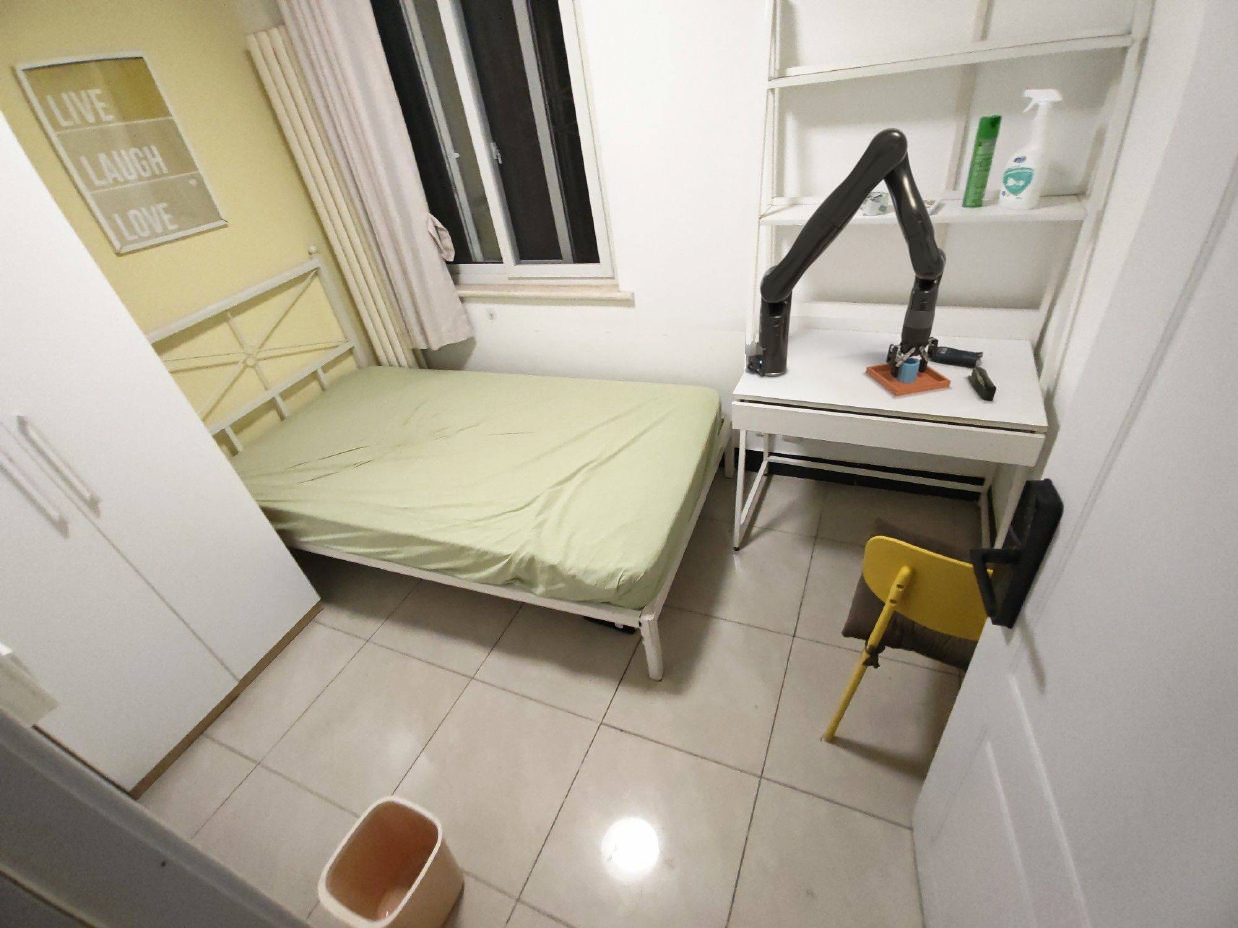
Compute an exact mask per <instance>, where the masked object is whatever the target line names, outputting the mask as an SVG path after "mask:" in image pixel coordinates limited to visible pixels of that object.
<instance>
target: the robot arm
mask: <svg viewBox="0 0 1238 928" xmlns="http://www.w3.org/2000/svg"><path fill="white" fill-rule="evenodd" d="M908 148H909V143H908V138H907V136H906V134H905V133H904V132H903V130H900V128H899V129H898V128H895V127H888V128H884V129H882V130H881V131H879V132H877V133H876V134H875V136H873V138H872V139H871V140H870V141H869V144H868V146H867V147H866V149H865V150H864V152H863V154H861V157H860V158H859V160H858V161H857V163H856V164H855V166H853V168H852V170H851V171H850V173H848V174H847V176H846V177H845V178H844V180H843V181H842V182H841V183H839V184H838V185H837V187H835V188H834V189H833V190H832V191H831V193H830V194H828V195H827V196H826V198H825V199H824V200H823V201H822V202H821V203H820V204H819V206H818V207H817V208H816V209H815V211H814V212H813V213H812V215H811V216H810V217H809V218H808V220H807V221H806V222H805V224H804V225H803V227H802V228H801V230H800V232H799V233H798V235H797V236H796V238H795V240H794V242H793V243H792V245H791V247H790V249H789V250H788V251H787V253H786V254H785V256H784V257H783V258H782V260H781V261H779V263H778V264H775V265H772V266H770V267H769V268H768V269H767V270H765V271H764V273H763V274H762V278H761V281H760V284H759V292H760V307H759V318H758V319H759V321H758V341H757V342H756V343H755V354H753V355H748V361H747V362H748V363H747V365H746V368H747V370H748V371H750V372H754V371H756V372H757V373H758V374H759V375H760V377H779V376H782V375H784V374H786V372H787V367H788V364H787V363H788V351H789V350H788V349H789V339H790V338H789V337H790V324H791V312H792V301H793V290H794V289H795V287H796V286H797V284H798V283H799V282H800V280H801V278H802V277H803V275H805V273H806V272H807V271H808V269H809V268H810V267H811V266H812V265H813V264H814V263H815V262H816V261H817V260H818V258H820V257H821V256H822V255H823V253H824V252H825V251H826V250H827V249H828V248H829V247H830V246H831V245H832V243H834V242H835V240H836V239H837V238H838V237H839V236H840V235H841V234H842V232H843V231H844V229H846V227H847V226H848V225H849V224H850V222H851V221H852V219H853V218H854V217H855V215H856V214H857V213H858V211H859V209H861V207H862V206H863V204H864V202H865V201H866V200H867V198H868V197H869V195H870V194H871V193H872V192H873V191H874V190H875V189H876V187H878V186H879V184H880V183H882V181H883V182H884V184H885V186H886V188H887V191H888V194H889V196H890V199H891V203H892V206H893V211H894V214H895V217H896V220H897V224H898V227H899V230H900V231H901V235H902V237H903V240H904V241H905V244H906V247H907V250H908V255H909V259H910V263H911V267H912V269H913V271H914V280H913V285H912V287H911V289H910V293H909V296H908V297H909V298H908V303H907V307H906V311H905V314H904V318H903V324H902V329H901V332H900V333H901V334H900V337H901V338H900V339H901V340H900V342H899V343H898V344H894V343H890V344H889V346H888V351H887V355H886V358H885V359H886V360H885V364H887V363H888V364H889V365H891V366H892V368H891V375H892V376H893V377H894V378H897V377H898V374H899V368H900V366H899V365H900V364H901V363H902V362H903V361H905V360H906V359H907V358H914V357H920V359H919V360H920V364H919V369H918V371H919V372H921V373H924V372H925V370H926V368H927V365H928V364H929V362H930V361H931V360H930V359H931V358H935V357H936V352H937V347H939V339H938V338H935V337H934V336H931V335H932V330H933V325H934V321H935V317H936V308H937V303H938V298H939V290H940V285H941V282H942V278H943V274H944V271H945V267H946V264H947V255H946V253H945V251H944V250H943V249H942V248H941V247H938V244H937V241H936V238H935V237H936V234H935V233H936V232H935V228H934V225H933V221H932V219H931V216H930V214H929V211H928V208H927V207H926V204H925V201H924V199H923V197H922V195H921V192H920V190H919V188H918V186H917V183H916V181H915V178H914V175H913V173H912V168H911V164H910V159H909V154H908ZM926 348H927V350H926ZM902 355H903V356H902Z"/></svg>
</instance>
